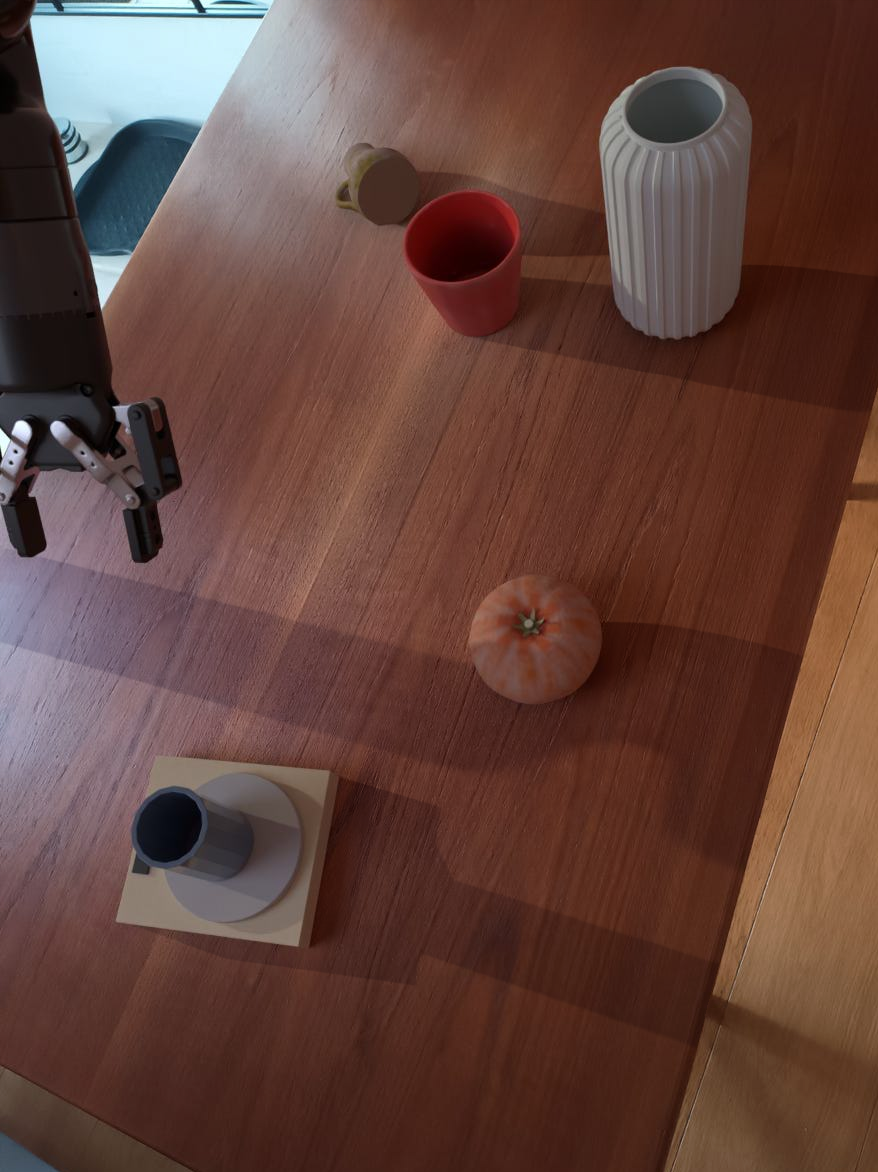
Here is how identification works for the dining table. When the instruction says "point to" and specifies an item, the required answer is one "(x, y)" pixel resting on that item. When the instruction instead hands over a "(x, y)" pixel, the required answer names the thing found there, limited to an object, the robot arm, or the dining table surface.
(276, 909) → the scale
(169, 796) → the ceramic cup
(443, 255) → the flower pot
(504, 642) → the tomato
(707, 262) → the vase
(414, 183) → the mug
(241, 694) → the dining table surface
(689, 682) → the dining table surface
